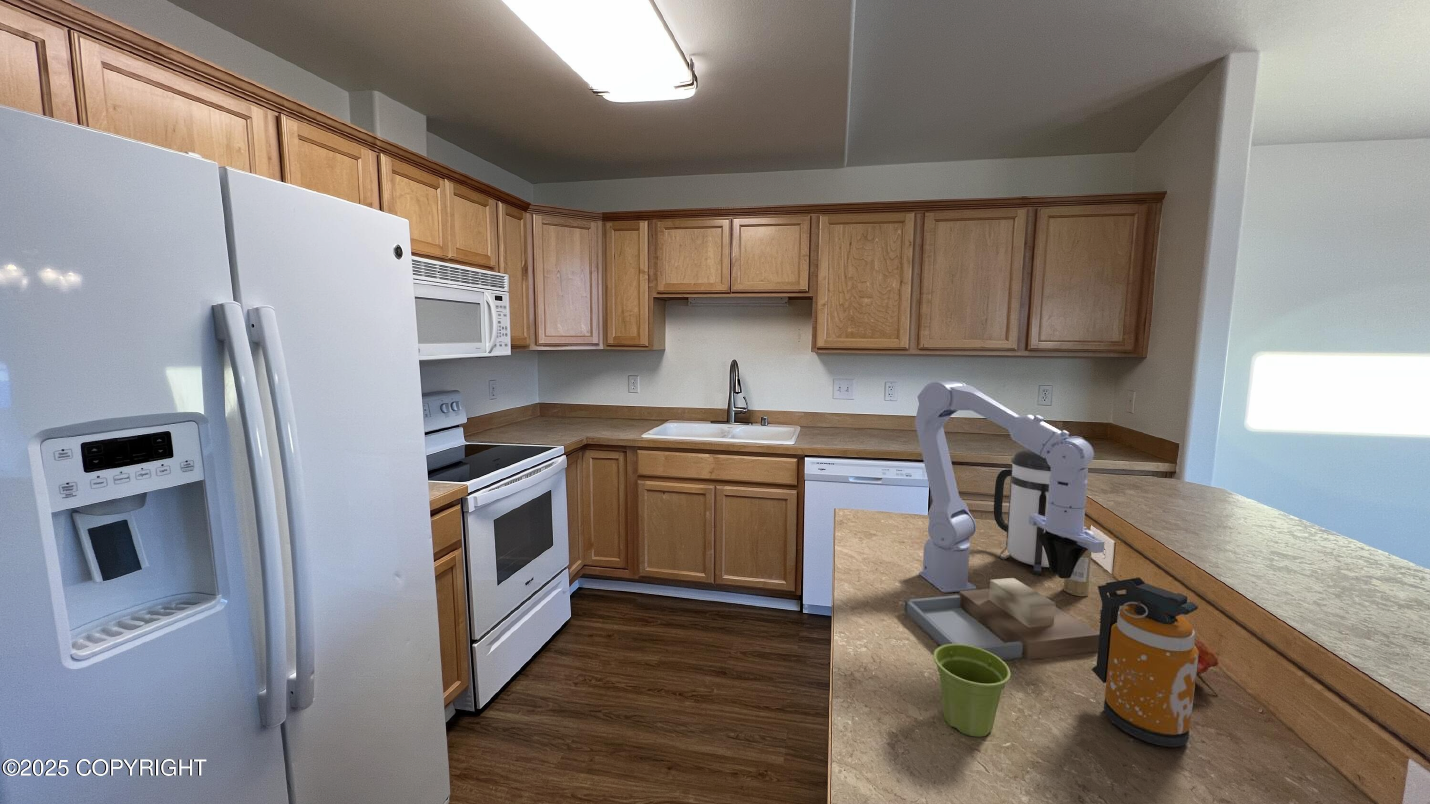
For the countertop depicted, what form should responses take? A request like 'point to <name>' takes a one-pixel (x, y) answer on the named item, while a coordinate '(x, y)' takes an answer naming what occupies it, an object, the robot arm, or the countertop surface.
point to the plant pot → (970, 686)
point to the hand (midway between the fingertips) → (1060, 575)
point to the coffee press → (1024, 507)
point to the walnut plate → (1031, 628)
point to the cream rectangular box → (1022, 602)
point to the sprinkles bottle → (1080, 576)
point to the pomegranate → (1205, 659)
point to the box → (957, 626)
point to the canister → (1147, 661)
